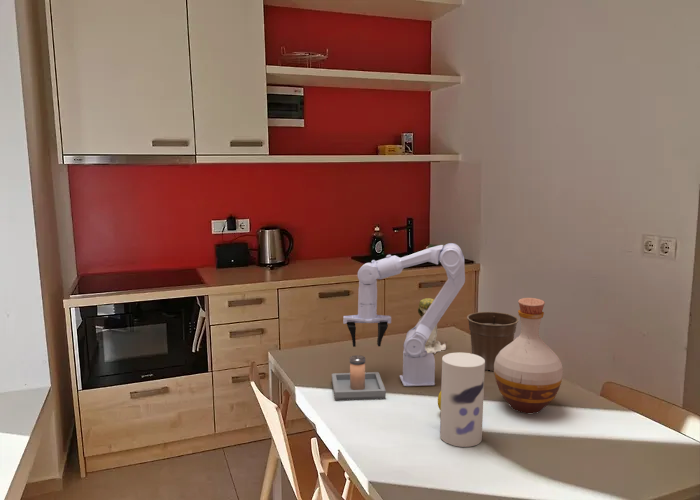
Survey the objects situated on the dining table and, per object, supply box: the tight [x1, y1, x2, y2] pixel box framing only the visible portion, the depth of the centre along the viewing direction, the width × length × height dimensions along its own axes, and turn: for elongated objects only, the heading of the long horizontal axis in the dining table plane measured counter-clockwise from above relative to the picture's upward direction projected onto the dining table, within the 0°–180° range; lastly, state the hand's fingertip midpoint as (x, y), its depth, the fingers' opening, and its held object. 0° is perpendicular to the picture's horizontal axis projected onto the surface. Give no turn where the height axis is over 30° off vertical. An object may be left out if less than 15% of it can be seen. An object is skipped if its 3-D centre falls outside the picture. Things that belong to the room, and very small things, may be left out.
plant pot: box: [466, 311, 519, 372], centre depth 186 cm, size 16×16×16 cm
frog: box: [417, 297, 447, 355], centre depth 202 cm, size 12×13×18 cm
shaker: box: [349, 354, 366, 390], centre depth 165 cm, size 5×5×9 cm
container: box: [439, 352, 486, 448], centre depth 136 cm, size 10×10×20 cm
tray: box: [331, 371, 387, 402], centre depth 166 cm, size 14×14×2 cm
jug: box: [493, 297, 564, 414], centre depth 153 cm, size 20×18×30 cm
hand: (366, 345), depth 174 cm, fingers open, 7 cm apart
